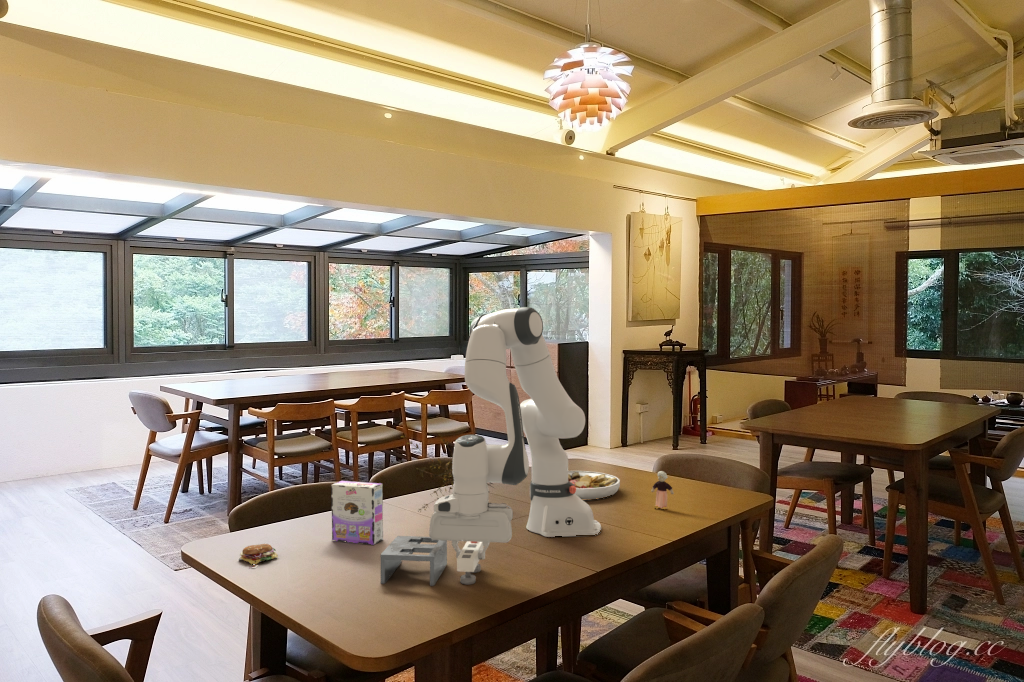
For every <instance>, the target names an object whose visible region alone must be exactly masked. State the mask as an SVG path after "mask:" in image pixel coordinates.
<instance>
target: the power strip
mask: <svg viewBox="0 0 1024 682" xmlns="http://www.w3.org/2000/svg"><path fill="white" fill-rule="evenodd" d="M483 549H484V546H483V542H473V541H465V544H464V545H463V547H462V548H461V550H462V551H461V552H460V554H459V556H458V558H456V571H457V572H461V573H462V572H464V573H465V574H462V575H460V578H459V579H460V580H459V581H460V583H461V585H466V586H468V585H469V586H470V585H473V584H475V583H476V575H474V574H475V573H479V572H481V568H482V565H481V564H480V563H479V562H480V560H481V559H478V557H479V556H478V552H479V550H483ZM473 573H474V574H473Z"/></svg>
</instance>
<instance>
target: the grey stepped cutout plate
mask: <svg viewBox="0 0 1024 682" xmlns="http://www.w3.org/2000/svg"><path fill="white" fill-rule="evenodd" d="M413 553H417V554H413ZM418 553H419V554H418ZM423 553H424V554H423ZM425 553H426V554H425ZM402 561H407V562H429V586H430V587H435V585H436V583H438V582H437V581H438V580H439V578H440V577H441V575H442V574H443V572H444V570H445V569H446V567H447V565H448V541H443V540H432V539H431V538H430V536H415V535H413V536H412V535H397V536H396V537H395V538H394V539H393V540H392V541H391V542H390V544H388V546H387V547H386V548H385V549H384V550H383V551H382V552H381V554H380V584H381V585H385V584H386V583H387V582H388V581H389V579H391V577H392V575H393V574H394V573H395V572H396V571H397V569H398V568H399V567H400V566H401V564H402Z"/></svg>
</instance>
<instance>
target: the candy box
mask: <svg viewBox="0 0 1024 682" xmlns="http://www.w3.org/2000/svg"><path fill="white" fill-rule="evenodd" d="M330 490H331V492H330V493H331V536H332V537H331V541H332V540H336V541H335V542H339V541H346V542H345V543H349V542H353V543H352V544H358V543H363V544H362V545H368V544H371V545H370V546H372V545H373V546H374V545H376V544H378V543H379V541H380V542H382V541H383V540H384V513H383V512H384V509H383V508H384V507H383V506H384V503H383V502H384V501H383V500H384V499H383V494H384V493H383V483H381V482H379V483H377V482H365V481H364V482H363V481H362V482H361V481H349V480H340V481H338V482H334V483H333V484H331V485H330ZM381 540H382V541H381Z"/></svg>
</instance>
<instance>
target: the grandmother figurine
mask: <svg viewBox="0 0 1024 682" xmlns="http://www.w3.org/2000/svg"><path fill="white" fill-rule="evenodd" d="M668 478H669V477H668V475H667V473H666V472H665V471H663V470H660V471H658V472H657V479H658V481H655V483H654V484H653V485H652V489H651V491H650V492H651V493H655V490H656V489H657V490H656V495H655V506H658V507H660V509H661V508H663V507H667V508H668V491H669V492H670V494H671V495H674V494H675V492H674V490H673V486H672V485H671V484H669V483H668V482H666V480H667V479H668Z"/></svg>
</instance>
